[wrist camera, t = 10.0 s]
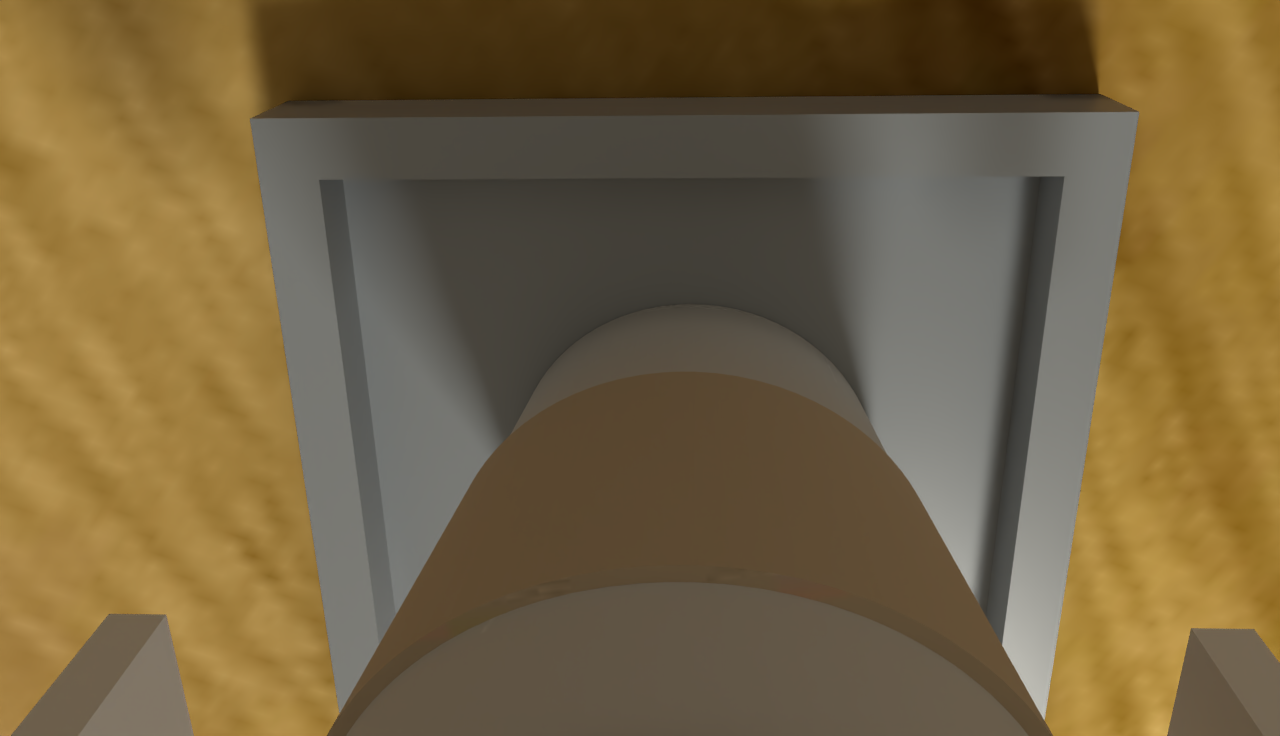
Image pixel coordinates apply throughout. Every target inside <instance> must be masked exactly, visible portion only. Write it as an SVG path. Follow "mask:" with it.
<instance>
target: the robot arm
mask: <svg viewBox="0 0 1280 736" xmlns="http://www.w3.org/2000/svg"><path fill="white" fill-rule="evenodd" d="M11 736H194V735H193V730H192V726H191V721H190V717H189V713H188V708H187V704H186V700H185V695H184V691H183V686H182V682H181V678H180V673H179V669H178V665H177V660H176V656H175V651H174V647H173V643H172V638H171V634H170V630H169V625H168V621H167V616H166V615H150V614H109V615H108V616H107V617H106V618H105V620H104V621H103V622H102V623H101V625H100V626H99V627H98V628H97V630H96V631H95V632H94V633H93V634H92V636H91V637H90V638H89V639H88V641H87V642H86V643H85V644H84V646H83V647H82V648H81V649H80V651H79V652H78V653H77V654H76V656H75V657H74V658H73V659H72V661H71V662H70V663H69V664H68V666H67V667H66V668H65V669H64V670H63V672H62V673H61V674H60V675H59V677H58V678H57V679H56V680H55V682H54V683H53V684H52V685H51V687H50V688H49V689H48V690H47V692H46V693H45V694H44V695H43V697H42V698H41V699H40V700H39V701H38V703H37V704H36V705H35V706H34V708H33V709H32V710H31V711H30V713H29V714H28V715H27V716H26V718H25V719H24V720H23V721H22V723H21V724H20V725H19V726H18V728H17V729H16V730H15V731H14V732H13V734H12V735H11ZM1167 736H1280V663H1279V662H1278V660H1277V659H1276V658H1275V656H1274V655H1273V654H1272V652H1271V651H1270V650H1269V649H1268V647H1267V646H1266V645H1265V643H1264V642H1263V641H1262V639H1261V638H1260V637H1259V635H1258V634H1257V633H1256V631H1255V630H1254V629H1199V628H1191V631H1190V636H1189V640H1188V645H1187V649H1186V654H1185V658H1184V663H1183V667H1182V672H1181V676H1180V681H1179V685H1178V690H1177V694H1176V699H1175V703H1174V708H1173V712H1172V717H1171V721H1170V726H1169V730H1168V735H1167Z"/></svg>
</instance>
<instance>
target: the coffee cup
mask: <svg viewBox="0 0 1280 736" xmlns="http://www.w3.org/2000/svg"><path fill="white" fill-rule="evenodd" d="M327 736H1053V735H1052V733H1051V731H1050V730H1049V728H1048V726H1047V724H1046V723H1045V721H1044V719H1043V717H1042V715H1041V714H1040V712H1039V710H1038V708H1037V707H1036V705H1035V703H1034V701H1033V699H1032V698H1031V696H1030V694H1029V692H1028V691H1027V689H1026V687H1025V685H1024V683H1023V682H1022V680H1021V678H1020V676H1019V675H1018V673H1017V671H1016V669H1015V667H1014V666H1013V664H1012V662H1011V660H1010V658H1009V657H1008V655H1007V653H1006V651H1005V650H1004V648H1003V646H1002V644H1001V642H1000V641H999V639H998V637H997V635H996V634H995V632H994V630H993V628H992V626H991V625H990V623H989V621H988V619H987V618H986V616H985V614H984V612H983V610H982V609H981V607H980V605H979V603H978V602H977V600H976V598H975V596H974V594H973V593H972V591H971V589H970V587H969V585H968V584H967V582H966V580H965V578H964V577H963V575H962V573H961V571H960V569H959V568H958V566H957V564H956V562H955V561H954V559H953V557H952V555H951V553H950V552H949V550H948V548H947V546H946V545H945V543H944V541H943V539H942V537H941V536H940V534H939V532H938V530H937V529H936V527H935V525H934V523H933V521H932V520H931V518H930V516H929V514H928V512H927V511H926V509H925V507H924V505H923V504H922V502H921V500H920V498H919V496H918V495H917V493H916V491H915V490H914V488H913V487H912V485H911V484H910V482H909V481H908V479H907V478H906V476H905V475H904V474H903V472H902V471H901V470H900V469H899V467H898V466H897V465H896V464H895V463H894V461H893V460H892V459H891V458H890V457H889V456H888V455H887V453H886V451H885V449H884V448H883V446H882V444H881V442H880V440H879V438H878V436H877V434H876V432H875V430H874V428H873V426H872V424H871V423H870V421H869V419H868V417H867V415H866V413H865V411H864V409H863V407H862V405H861V403H860V401H859V400H858V398H857V396H856V394H855V392H854V391H853V389H852V388H851V386H850V385H849V383H848V382H847V380H846V379H845V378H844V376H843V375H842V374H841V372H840V371H839V370H838V369H837V368H836V367H835V365H834V364H833V363H832V362H831V361H830V360H829V359H828V358H827V357H826V356H825V355H824V354H822V353H821V352H820V351H819V350H818V349H817V348H815V347H814V346H813V345H812V344H810V343H809V342H808V341H806V340H805V339H803V338H802V337H800V336H799V335H797V334H796V333H794V332H792V331H791V330H789V329H787V328H785V327H783V326H781V325H779V324H777V323H775V322H773V321H770V320H768V319H766V318H763V317H761V316H758V315H755V314H752V313H749V312H745V311H741V310H737V309H733V308H727V307H722V306H714V305H704V304H678V305H666V306H660V307H654V308H649V309H644V310H641V311H637V312H633V313H630V314H627V315H624V316H621V317H619V318H617V319H614V320H612V321H610V322H608V323H606V324H604V325H602V326H600V327H598V328H596V329H594V330H593V331H591V332H589V333H588V334H586V335H585V336H583V337H582V338H581V339H579V340H578V341H576V342H575V343H574V344H573V345H572V346H570V347H569V348H568V349H567V350H566V351H565V352H564V353H563V354H562V355H561V356H560V357H559V358H558V359H557V360H556V361H555V362H554V363H553V364H552V366H551V367H550V368H549V369H548V370H547V372H546V373H545V375H544V376H543V377H542V379H541V380H540V382H539V384H538V385H537V387H536V389H535V391H534V392H533V394H532V396H531V398H530V400H529V402H528V403H527V405H526V407H525V409H524V411H523V413H522V414H521V416H520V418H519V420H518V422H517V423H516V425H515V427H514V429H513V431H512V433H511V434H510V436H509V437H508V438H507V439H506V440H505V441H504V442H503V443H502V444H501V445H500V446H499V447H498V448H497V449H496V450H495V451H494V452H493V453H492V455H491V456H490V457H489V458H488V459H487V461H486V462H485V463H484V465H483V466H482V467H481V469H480V470H479V472H478V473H477V475H476V476H475V478H474V480H473V481H472V483H471V485H470V486H469V488H468V490H467V492H466V493H465V495H464V497H463V499H462V500H461V502H460V504H459V506H458V507H457V509H456V511H455V513H454V514H453V516H452V518H451V520H450V521H449V523H448V525H447V527H446V528H445V530H444V532H443V534H442V535H441V537H440V539H439V541H438V542H437V544H436V546H435V548H434V549H433V551H432V553H431V555H430V556H429V558H428V560H427V562H426V563H425V565H424V567H423V569H422V570H421V572H420V574H419V576H418V577H417V579H416V581H415V583H414V584H413V586H412V588H411V590H410V591H409V593H408V595H407V597H406V598H405V600H404V602H403V604H402V605H401V607H400V609H399V611H398V612H397V614H396V616H395V618H394V619H393V621H392V623H391V625H390V626H389V628H388V630H387V632H386V633H385V635H384V637H383V639H382V640H381V642H380V644H379V646H378V647H377V649H376V651H375V653H374V654H373V656H372V658H371V660H370V661H369V663H368V665H367V667H366V668H365V670H364V672H363V674H362V675H361V677H360V679H359V681H358V682H357V684H356V686H355V688H354V689H353V691H352V693H351V695H350V696H349V698H348V700H347V702H346V703H345V705H344V707H343V709H342V710H341V712H340V714H339V715H338V717H337V719H336V721H335V722H334V724H333V726H332V728H331V729H330V731H329V733H328V735H327Z"/></svg>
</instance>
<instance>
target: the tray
mask: <svg viewBox="0 0 1280 736" xmlns="http://www.w3.org/2000/svg"><path fill="white" fill-rule="evenodd" d="M1138 116H1139V112H1138V111H1136V110H1134V109H1132V108H1130V107H1127V106H1125V105H1123V104H1121V103H1119V102H1117V101H1114V100H1112V99H1110V98H1108V97H1106V96H1103V95H1101V94H1040V95H922V96H803V97H685V98H567V99H448V100H330V101H287V102H285V103H283V104H281V105H279V106H276V107H274V108H272V109H270V110H268V111H265V112H263V113H261V114H259V115H257V116H255V117H252V118H250V122H251V129H252V135H253V142H254V149H255V155H256V162H257V169H258V175H259V182H260V188H261V195H262V202H263V208H264V215H265V222H266V228H267V235H268V242H269V248H270V255H271V262H272V268H273V275H274V282H275V288H276V295H277V301H278V308H279V315H280V321H281V328H282V335H283V341H284V348H285V355H286V361H287V368H288V375H289V381H290V388H291V394H292V401H293V408H294V414H295V421H296V428H297V434H298V441H299V448H300V454H301V461H302V468H303V474H304V481H305V488H306V494H307V501H308V507H309V514H310V521H311V527H312V534H313V541H314V547H315V554H316V561H317V567H318V574H319V581H320V587H321V594H322V601H323V607H324V614H325V620H326V627H327V634H328V640H329V647H330V654H331V660H332V667H333V674H334V680H335V687H336V694H337V700H338V707H339V713H340V712H341V710H342V709H343V707H344V705H345V703H346V702H347V700H348V698H349V696H350V695H351V693H352V691H353V689H354V688H355V686H356V684H357V682H358V681H359V679H360V677H361V675H362V674H363V672H364V670H365V668H366V667H367V665H368V663H369V661H370V660H371V658H372V656H373V654H374V653H375V651H376V649H377V647H378V646H379V644H380V642H381V640H382V639H383V637H384V635H385V633H386V632H387V630H388V628H389V626H390V625H391V623H392V621H393V619H394V618H395V616H396V614H397V612H398V611H399V609H400V607H401V605H402V604H403V602H404V600H405V598H406V597H407V595H408V593H409V591H410V590H411V588H412V586H413V584H414V583H415V581H416V579H417V577H418V576H419V574H420V572H421V570H422V569H423V567H424V565H425V563H426V562H427V560H428V558H429V556H430V555H431V553H432V551H433V549H434V548H435V546H436V544H437V542H438V541H439V539H440V537H441V535H442V534H443V532H444V530H445V528H446V527H447V525H448V523H449V521H450V520H451V518H452V516H453V514H454V513H455V511H456V509H457V507H458V506H459V504H460V502H461V500H462V499H463V497H464V495H465V493H466V492H467V490H468V488H469V486H470V485H471V483H472V481H473V480H474V478H475V476H476V475H477V473H478V472H479V470H480V469H481V467H482V466H483V465H484V463H485V462H486V461H487V459H488V458H489V457H490V456H491V455H492V453H493V452H494V451H495V450H496V449H497V448H498V447H499V446H500V445H501V444H502V443H503V442H504V441H505V440H506V439H507V438H508V437H509V436H510V434H511V433H512V431H513V429H514V427H515V425H516V423H517V422H518V420H519V418H520V416H521V414H522V413H523V411H524V409H525V407H526V405H527V403H528V402H529V400H530V398H531V396H532V394H533V392H534V391H535V389H536V387H537V385H538V384H539V382H540V380H541V379H542V377H543V376H544V375H545V373H546V372H547V370H548V369H549V368H550V367H551V366H552V364H553V363H554V362H555V361H556V360H557V359H558V358H559V357H560V356H561V355H562V354H563V353H564V352H565V351H566V350H567V349H568V348H569V347H570V346H572V345H573V344H574V343H575V342H576V341H578V340H579V339H581V338H582V337H583V336H585V335H586V334H588V333H589V332H591V331H593V330H594V329H596V328H598V327H600V326H602V325H604V324H606V323H608V322H610V321H612V320H614V319H617V318H619V317H621V316H624V315H627V314H630V313H633V312H637V311H641V310H644V309H649V308H654V307H660V306H666V305H678V304H704V305H714V306H722V307H727V308H733V309H737V310H741V311H745V312H749V313H752V314H755V315H758V316H761V317H763V318H766V319H768V320H770V321H773V322H775V323H777V324H779V325H781V326H783V327H785V328H787V329H789V330H791V331H792V332H794V333H796V334H797V335H799V336H800V337H802V338H803V339H805V340H806V341H808V342H809V343H810V344H812V345H813V346H814V347H815V348H817V349H818V350H819V351H820V352H821V353H822V354H824V355H825V356H826V357H827V358H828V359H829V360H830V361H831V362H832V363H833V364H834V365H835V367H836V368H837V369H838V370H839V371H840V372H841V374H842V375H843V376H844V378H845V379H846V380H847V382H848V383H849V385H850V386H851V388H852V389H853V391H854V392H855V394H856V396H857V398H858V400H859V401H860V403H861V405H862V407H863V409H864V411H865V413H866V415H867V417H868V419H869V421H870V423H871V424H872V426H873V428H874V430H875V432H876V434H877V436H878V438H879V440H880V442H881V444H882V446H883V448H884V449H885V451H886V453H887V455H888V456H889V457H890V458H891V459H892V460H893V461H894V463H895V464H896V465H897V466H898V467H899V469H900V470H901V471H902V472H903V474H904V475H905V476H906V478H907V479H908V481H909V482H910V484H911V485H912V487H913V488H914V490H915V491H916V493H917V495H918V496H919V498H920V500H921V502H922V504H923V505H924V507H925V509H926V511H927V512H928V514H929V516H930V518H931V520H932V521H933V523H934V525H935V527H936V529H937V530H938V532H939V534H940V536H941V537H942V539H943V541H944V543H945V545H946V546H947V548H948V550H949V552H950V553H951V555H952V557H953V559H954V561H955V562H956V564H957V566H958V568H959V569H960V571H961V573H962V575H963V577H964V578H965V580H966V582H967V584H968V585H969V587H970V589H971V591H972V593H973V594H974V596H975V598H976V600H977V602H978V603H979V605H980V607H981V609H982V610H983V612H984V614H985V616H986V618H987V619H988V621H989V623H990V625H991V626H992V628H993V630H994V632H995V634H996V635H997V637H998V639H999V641H1000V642H1001V644H1002V646H1003V648H1004V650H1005V651H1006V653H1007V655H1008V657H1009V658H1010V660H1011V662H1012V664H1013V666H1014V667H1015V669H1016V671H1017V673H1018V675H1019V676H1020V678H1021V680H1022V682H1023V683H1024V685H1025V687H1026V689H1027V691H1028V692H1029V694H1030V696H1031V698H1032V699H1033V701H1034V703H1035V705H1036V707H1037V708H1038V710H1039V712H1040V714H1041V715H1042V717H1043V719H1044V720H1045V713H1046V707H1047V700H1048V694H1049V688H1050V681H1051V675H1052V668H1053V662H1054V656H1055V649H1056V643H1057V636H1058V630H1059V623H1060V617H1061V611H1062V604H1063V598H1064V591H1065V585H1066V578H1067V572H1068V566H1069V559H1070V553H1071V546H1072V540H1073V534H1074V527H1075V521H1076V514H1077V508H1078V501H1079V495H1080V489H1081V482H1082V476H1083V469H1084V463H1085V456H1086V450H1087V444H1088V437H1089V431H1090V424H1091V418H1092V412H1093V405H1094V399H1095V392H1096V386H1097V379H1098V373H1099V367H1100V360H1101V354H1102V347H1103V341H1104V334H1105V328H1106V322H1107V315H1108V309H1109V302H1110V296H1111V290H1112V283H1113V277H1114V270H1115V264H1116V257H1117V251H1118V245H1119V238H1120V232H1121V225H1122V219H1123V213H1124V206H1125V200H1126V193H1127V187H1128V180H1129V174H1130V168H1131V161H1132V155H1133V148H1134V142H1135V135H1136V129H1137V123H1138Z"/></svg>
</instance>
